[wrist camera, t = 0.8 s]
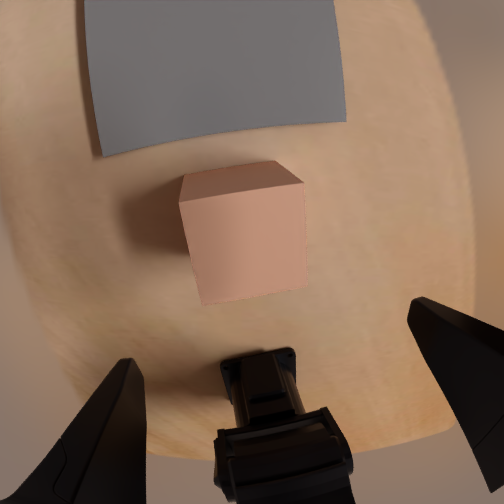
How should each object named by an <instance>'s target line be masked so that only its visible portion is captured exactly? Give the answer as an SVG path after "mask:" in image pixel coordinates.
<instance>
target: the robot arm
mask: <svg viewBox="0 0 504 504" xmlns="http://www.w3.org/2000/svg"><path fill="white" fill-rule="evenodd" d="M407 322H408V326H409V328H410V330H411V332H412V334H413V336H414V338H415V340H416V342H417V345H418V347H419V349H420V351H421V353H422V355H423V357H424V359H425V361H426V363H427V365H428V367H429V368H430V370H431V372H432V374H433V375H434V377H435V379H436V381H437V382H438V384H439V386H440V388H441V390H442V392H443V393H444V395H445V397H446V399H447V401H448V403H449V405H450V406H451V408H452V410H453V412H454V414H455V416H456V418H457V420H458V422H459V424H460V426H461V428H462V430H463V432H464V434H465V436H466V438H467V440H468V443H469V445H470V447H471V449H472V451H473V454H474V456H475V458H476V460H477V462H478V465H479V467H480V469H481V472H482V474H483V476H484V479H485V481H486V484H487V486H488V489H489V491H490V492H491V493H493V492H494V491H496V490H497V489H498V488H500V487H501V486H503V485H504V331H503V330H501V329H499V328H496V327H494V326H492V325H489V324H487V323H485V322H482V321H480V320H478V319H476V318H473V317H471V316H469V315H466V314H464V313H461V312H459V311H457V310H454V309H452V308H450V307H447V306H445V305H442V304H440V303H438V302H435V301H433V300H430V299H428V298H425V297H418V298H415V299H413V300H412V301H411V304H410V308H409V313H408V317H407ZM220 369H221V373H222V376H223V379H224V383H225V386H226V389H227V393H228V396H229V399H230V402H231V404H232V405H233V407H234V413H235V419H236V425H237V428H232V429H218V430H217V433H218V438H216V439H215V440H214V449H215V468H214V484H215V485H216V486H217V487H219V488H220V489H222V491H223V493H224V494H225V496H226V499H227V501H228V502H236V503H237V504H356V503H355V500H354V497H353V494H352V490H351V484H350V479H349V475H351V474H352V473H353V459H352V454H351V451H350V448H349V445H348V442H347V440H346V438H345V437H344V435H343V433H342V432H341V430H340V428H339V427H338V425H337V423H336V421H335V420H334V418H333V416H332V415H331V413H330V411H329V410H328V408H327V407H323V408H320V409H319V410H316V411H312V412H308V413H306V412H305V409H304V407H303V404H302V401H301V398H300V395H299V392H298V389H297V387H296V354H295V351H294V349H292V348H288V349H283V350H279V351H274V352H269V353H264V354H259V355H254V356H249V357H244V358H238V359H233V360H227V361H223V362H221V363H220ZM146 432H147V422H146V407H145V390H144V378H143V375H142V373H141V371H140V369H139V368H138V366H137V364H136V362H135V360H134V359H133V358H123V359H120V360H119V361H118V362H117V363H116V365H115V366H114V367H113V368H112V370H111V371H110V372H109V374H108V375H107V376H106V377H105V379H104V380H103V381H102V383H101V384H100V385H99V386H98V388H97V389H96V390H95V392H94V393H93V394H92V396H91V397H90V398H89V399H88V401H87V402H86V403H85V405H84V406H83V407H82V409H81V410H80V412H79V413H78V414H77V416H76V417H75V418H74V419H73V421H72V422H71V423H70V425H69V426H68V427H67V429H66V430H65V432H64V433H63V434H62V435H61V438H59V439H58V441H57V442H56V444H55V445H54V446H53V448H52V449H51V450H50V451H49V453H48V454H47V455H46V457H45V458H44V459H43V460H42V462H41V463H40V464H39V465H38V466H37V467H36V469H35V470H34V471H33V472H32V473H31V474H30V475H29V476H28V478H27V479H26V480H25V481H24V482H23V483H22V484H21V486H20V487H19V488H18V489H17V490H16V491H15V492H14V493H13V494H12V495H10V496H9V497H7V498H6V499H3V500H0V504H146Z"/></svg>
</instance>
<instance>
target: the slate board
mask: <svg viewBox="0 0 504 504" xmlns="http://www.w3.org/2000/svg"><path fill="white" fill-rule="evenodd" d="M84 10H85V32H86V46H87V57H88V67H89V76H90V84H91V91H92V98H93V105H94V111H95V117H96V123H97V129H98V134H99V140H100V145H101V150H102V154H103V157H107V156H110V155H114V154H118V153H122V152H126V151H130V150H134V149H138V148H143V147H147V146H152V145H156V144H161V143H166V142H171V141H176V140H181V139H186V138H192V137H198V136H204V135H210V134H216V133H223V132H230V131H237V130H245V129H253V128H262V127H272V126H282V125H294V124H309V123H327V122H346V106H345V92H344V80H343V70H342V60H341V51H340V43H339V35H338V28H337V21H336V15H335V8H334V2H333V0H84Z"/></svg>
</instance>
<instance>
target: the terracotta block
mask: <svg viewBox="0 0 504 504" xmlns="http://www.w3.org/2000/svg"><path fill="white" fill-rule="evenodd" d="M179 207H180V212H181V217H182V222H183V226H184V231H185V235H186V240H187V244H188V249H189V253H190V258H191V262H192V266H193V270H194V274H195V279H196V283H197V287H198V291H199V295H200V299H201V303H202V306H206V305H212V304H217V303H223V302H229V301H234V300H240V299H245V298H250V297H256V296H261V295H266V294H271V293H276V292H282V291H287V290H291V289H296V288H301V287H306V286H308V274H307V233H306V207H305V187H304V182H303V181H301V180H300V179H299V178H297V177H296V176H295V175H293V174H292V173H291V172H290V171H288V170H287V169H286V168H284V167H283V166H282V165H280V164H279V163H278V162H276V161H270V162H262V163H254V164H247V165H240V166H234V167H227V168H221V169H215V170H209V171H203V172H197V173H192V174H186V175H184V178H183V183H182V188H181V193H180V198H179Z"/></svg>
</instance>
